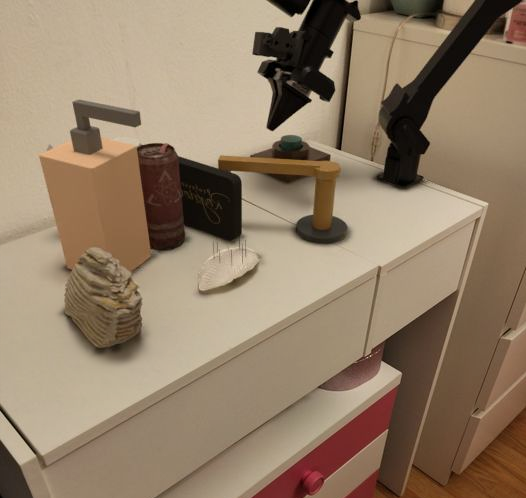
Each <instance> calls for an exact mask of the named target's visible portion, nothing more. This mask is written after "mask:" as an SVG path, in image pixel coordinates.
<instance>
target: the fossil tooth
mask: <svg viewBox="0 0 526 498" xmlns="http://www.w3.org/2000/svg"><path fill="white" fill-rule="evenodd" d="M120 263H121V262H120V260H117V259H115V258H113V255H112V254H110V253H109V252H105V251H103V250H102V249H101V248H96V247H91V248H89V249H87V250H86V251H85V254H83V255H81V257H80V258H79V260H78V261H77V264H75V267H73V270H70V274H69V276H68V278H67V281H66V284H65V288H64V291H65V292H64V295H63V296H64V308H65V312H64V313H65V314H66V315H67V316H69V317H70V318H71V320H72V321H73V322H74V323H75V325H76V326H77V327H78V328H79V330H81V331H82V333H83V334H84V336H85V337H86V338H87V340H88V341H89V342H90V343H91V344H92V345H93V346H94V347H95V348H98V349H104V348H110V347H113V346H116V345H119V344H123V343H125V342H127V341H128V340H130V339H132V338H133V337H134V336H136V335H137V334H139V333H141V332H142V328H143V323H142V322H143V317H142V314H141V312H142V311H141V309H142V306H143V296H142V295H141V292H140V291H138V289H139V288H140V286H139V285H138V284H137V283H136V282H135V281H134V279H133V278H132V275H133V272H132V271H131V272H130V271H128V270H127V269H126V268H125V267H123V266H121V265H120Z"/></svg>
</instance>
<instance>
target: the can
mask: <svg viewBox="0 0 526 498" xmlns="http://www.w3.org/2000/svg"><path fill="white" fill-rule="evenodd" d="M141 145H142V146H139V147H138V148H137V154H138V161H139V169H140V176H141V184H142V191H143V198H144V206H145V213H146V220H147V228H148V235H149V242H150V248H153V249H157V250H172V249H174V248H177V247H179V246H181V244H182V243H183V242H184V240H185V238H186V230H185V224H184V219H183V207H182V196H181V185H180V173H179V162H178V156H179V155H178V153H177V152H176V149H175V147H174V146H173V145H171V144H170V143H168V142H164V143H161V142H152V143H145V144H141Z"/></svg>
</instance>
